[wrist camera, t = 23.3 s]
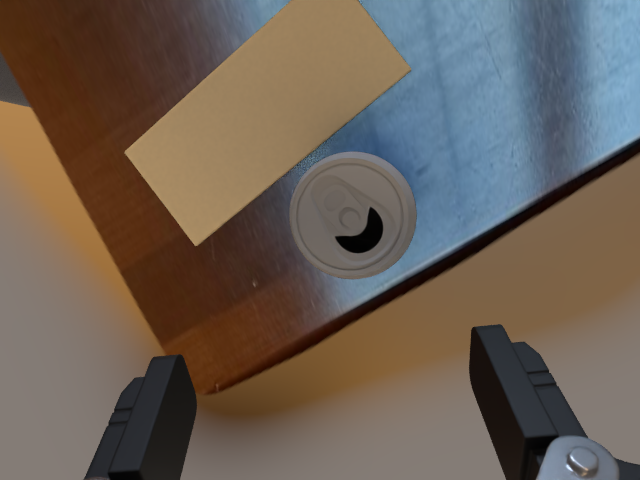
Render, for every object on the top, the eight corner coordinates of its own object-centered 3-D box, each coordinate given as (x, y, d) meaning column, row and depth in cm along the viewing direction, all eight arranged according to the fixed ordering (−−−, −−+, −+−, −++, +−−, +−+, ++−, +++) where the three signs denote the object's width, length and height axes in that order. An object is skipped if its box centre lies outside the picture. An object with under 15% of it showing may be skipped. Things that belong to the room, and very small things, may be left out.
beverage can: (362, 271, 36) (341, 311, 24) (304, 203, 36) (256, 209, 24) (432, 214, 34) (446, 227, 23) (372, 143, 35) (356, 120, 23)
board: (197, 245, 38) (195, 246, 37) (126, 152, 38) (123, 151, 37) (411, 70, 34) (411, 69, 33) (331, -33, 34) (330, -36, 33)
